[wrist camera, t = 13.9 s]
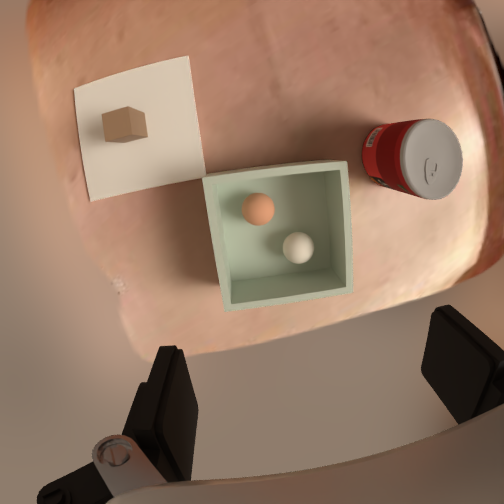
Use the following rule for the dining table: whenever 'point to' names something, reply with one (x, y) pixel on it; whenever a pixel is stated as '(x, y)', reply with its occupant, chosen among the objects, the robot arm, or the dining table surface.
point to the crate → (281, 233)
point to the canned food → (414, 158)
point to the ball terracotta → (258, 209)
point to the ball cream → (298, 247)
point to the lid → (139, 129)
